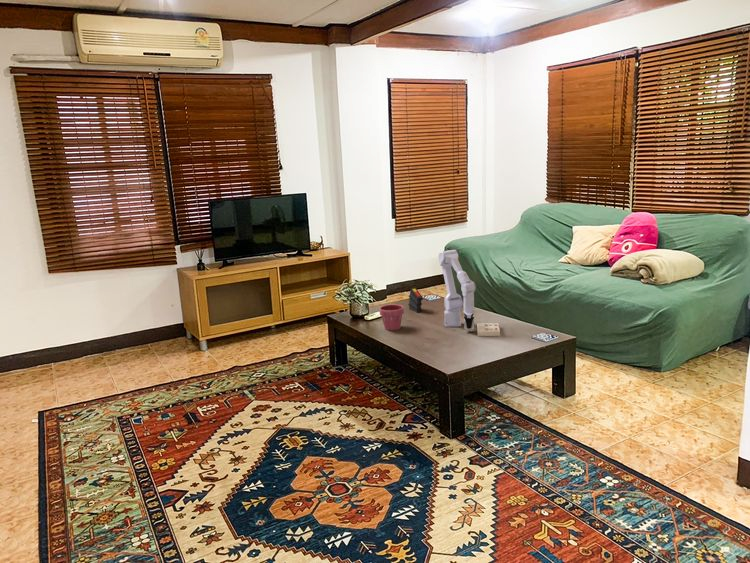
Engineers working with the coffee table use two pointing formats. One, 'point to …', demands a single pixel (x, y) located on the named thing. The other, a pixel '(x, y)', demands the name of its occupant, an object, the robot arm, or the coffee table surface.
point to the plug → (466, 326)
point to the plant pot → (392, 316)
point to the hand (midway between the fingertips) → (469, 326)
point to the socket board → (488, 329)
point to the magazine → (415, 300)
